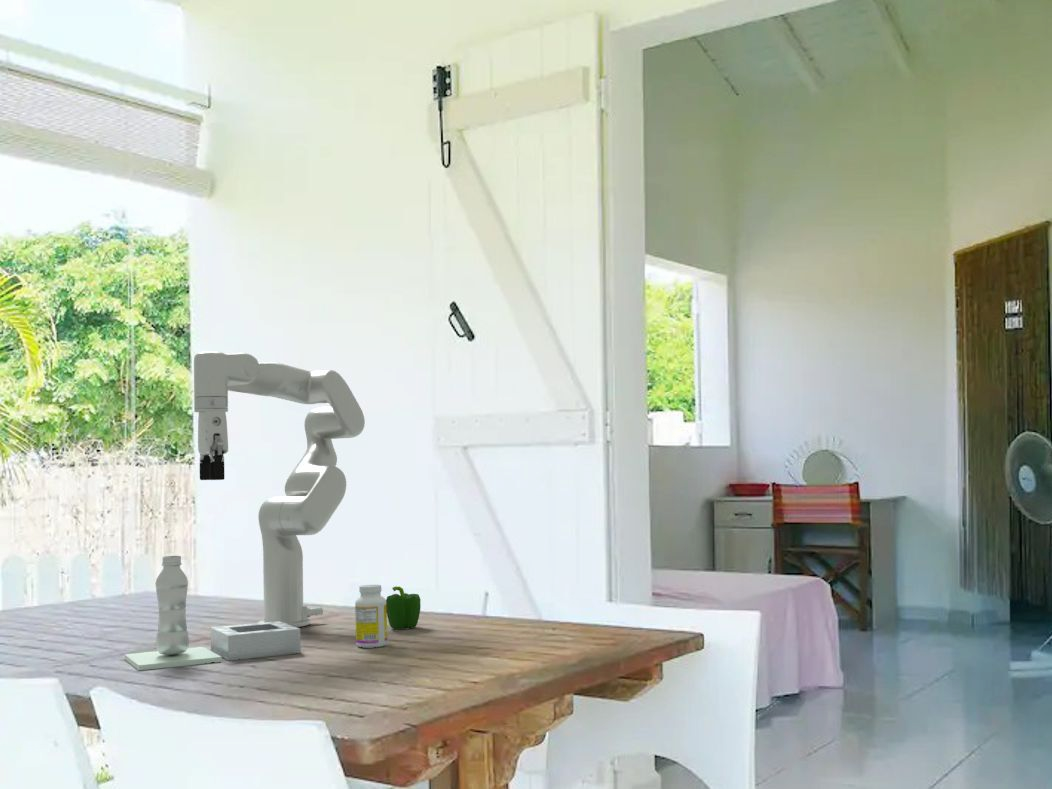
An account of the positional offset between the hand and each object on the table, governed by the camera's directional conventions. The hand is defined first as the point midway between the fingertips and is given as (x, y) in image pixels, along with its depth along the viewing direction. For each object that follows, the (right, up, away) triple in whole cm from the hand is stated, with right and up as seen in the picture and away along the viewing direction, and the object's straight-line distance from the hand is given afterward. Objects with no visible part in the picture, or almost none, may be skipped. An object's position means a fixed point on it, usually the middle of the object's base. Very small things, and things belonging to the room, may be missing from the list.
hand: (211, 479), depth 263 cm
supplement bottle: (+39, -35, -18) cm, 55 cm away
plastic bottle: (0, -34, -29) cm, 45 cm away
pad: (0, -35, -30) cm, 46 cm away
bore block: (+15, -35, -22) cm, 44 cm away
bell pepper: (+43, -36, +8) cm, 57 cm away
